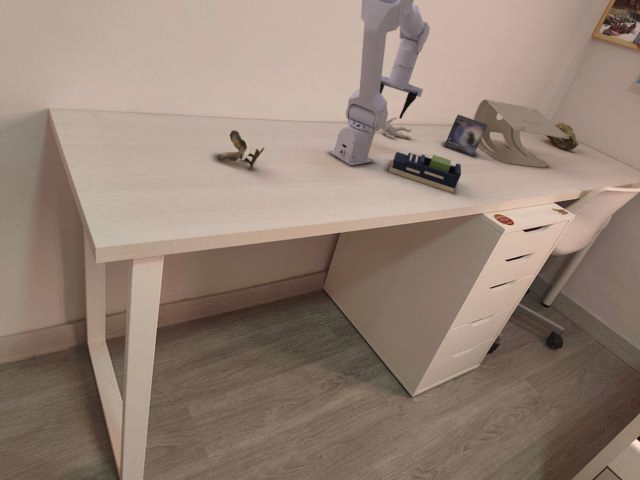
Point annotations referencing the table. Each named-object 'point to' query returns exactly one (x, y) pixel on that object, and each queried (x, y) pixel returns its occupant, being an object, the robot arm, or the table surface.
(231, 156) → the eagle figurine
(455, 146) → the small box
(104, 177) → the table surface
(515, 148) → the laptop stand
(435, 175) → the navy slotted organizer
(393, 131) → the soldier figure
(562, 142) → the mineral specimen
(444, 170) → the green cube
